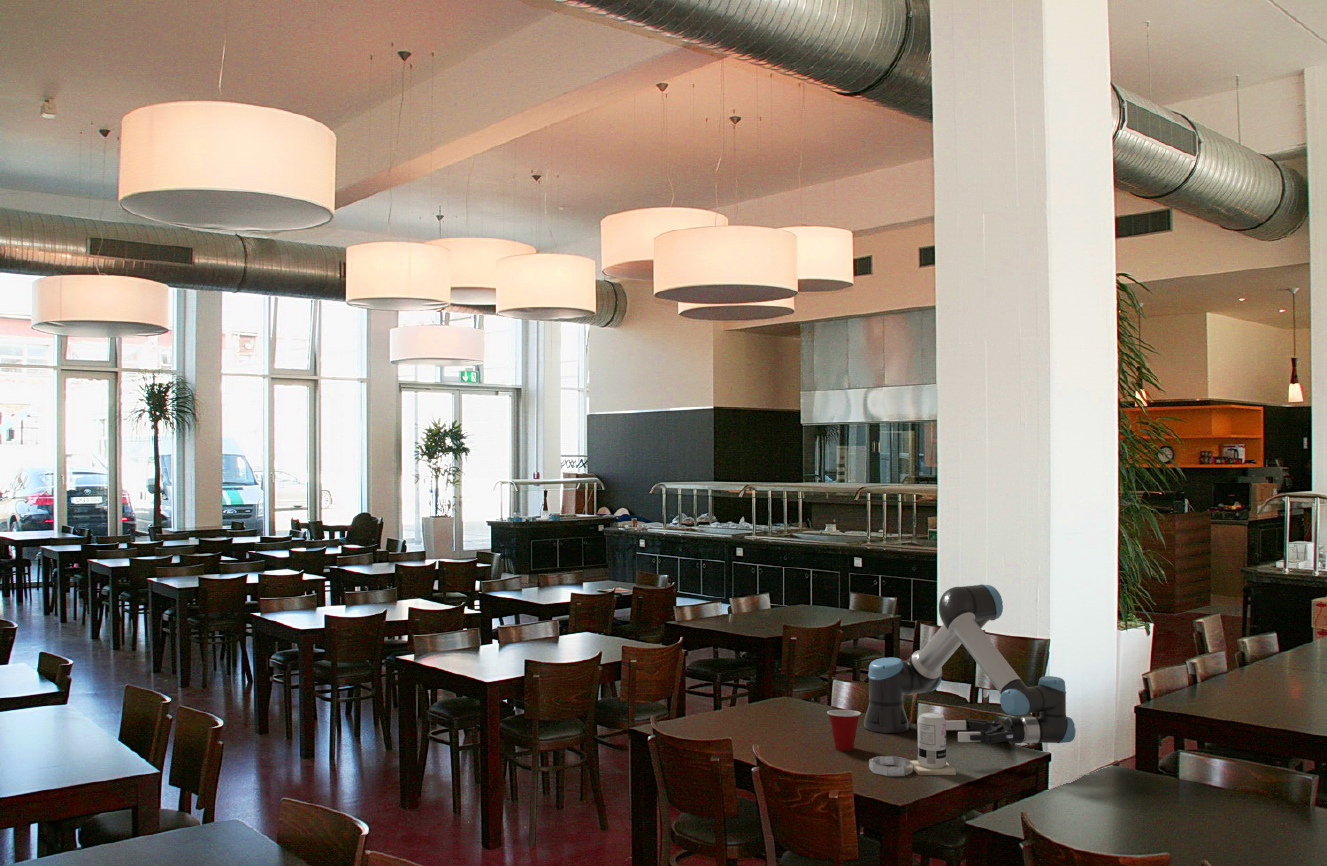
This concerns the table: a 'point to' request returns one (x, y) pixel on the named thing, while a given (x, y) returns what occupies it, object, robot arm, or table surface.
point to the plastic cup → (844, 728)
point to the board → (927, 771)
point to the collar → (878, 767)
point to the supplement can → (932, 740)
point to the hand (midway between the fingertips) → (951, 731)
